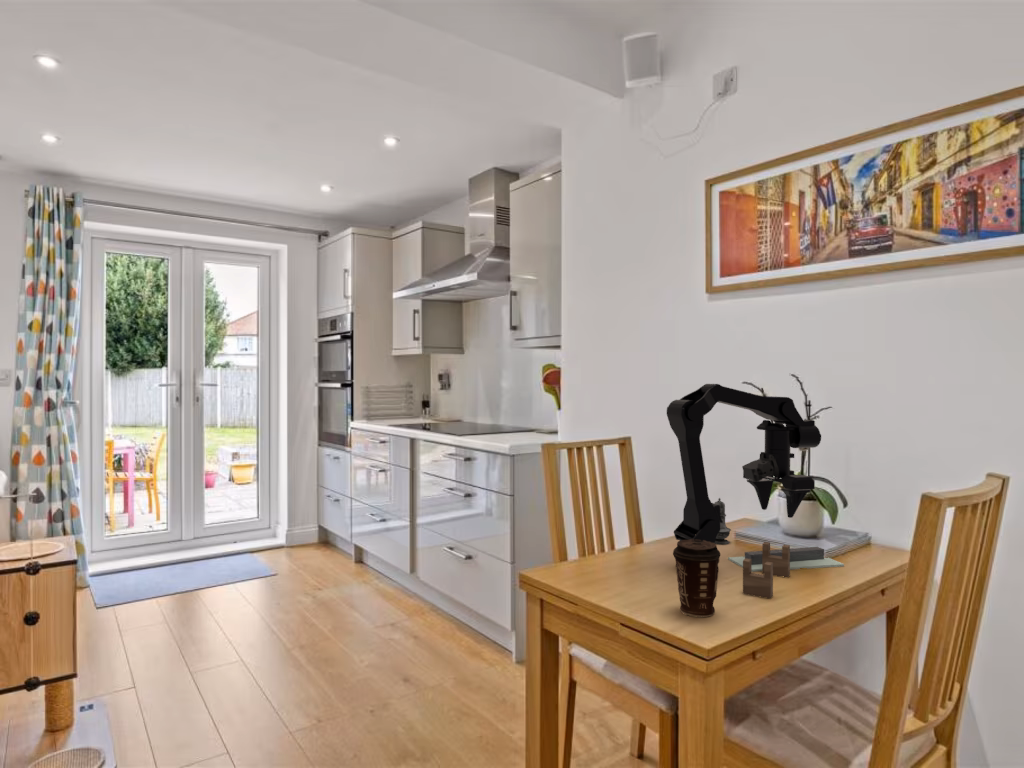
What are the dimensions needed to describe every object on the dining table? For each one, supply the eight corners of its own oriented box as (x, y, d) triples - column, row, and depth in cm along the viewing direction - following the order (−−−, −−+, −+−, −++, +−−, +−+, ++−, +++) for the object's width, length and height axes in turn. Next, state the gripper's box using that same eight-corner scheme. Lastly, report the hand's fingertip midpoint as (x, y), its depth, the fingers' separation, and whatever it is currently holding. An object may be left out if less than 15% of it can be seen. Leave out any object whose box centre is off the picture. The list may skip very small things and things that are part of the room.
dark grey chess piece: (727, 539, 172) (727, 496, 172) (733, 545, 166) (733, 500, 166) (706, 539, 173) (706, 495, 172) (710, 544, 167) (710, 499, 167)
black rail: (750, 565, 147) (750, 554, 147) (744, 562, 149) (744, 552, 149) (824, 559, 151) (824, 549, 151) (817, 556, 154) (817, 546, 154)
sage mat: (750, 571, 143) (750, 569, 143) (728, 559, 153) (728, 557, 153) (844, 566, 147) (844, 564, 147) (816, 554, 157) (816, 552, 157)
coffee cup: (698, 600, 125) (698, 535, 125) (730, 614, 118) (730, 545, 117) (664, 608, 121) (664, 541, 121) (696, 623, 113) (696, 551, 113)
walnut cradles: (770, 598, 126) (770, 565, 126) (742, 593, 129) (742, 560, 129) (789, 575, 140) (789, 545, 140) (764, 571, 144) (764, 541, 143)
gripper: (725, 445, 157) (724, 507, 157) (775, 454, 139) (774, 524, 139) (762, 444, 160) (762, 505, 160) (816, 452, 142) (816, 521, 142)
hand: (776, 513), depth 151 cm, fingers open, 9 cm apart
